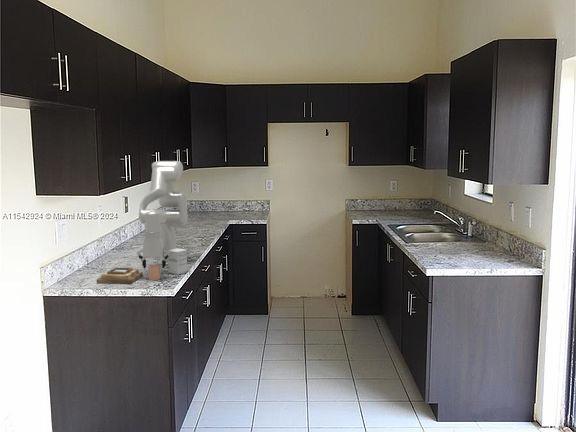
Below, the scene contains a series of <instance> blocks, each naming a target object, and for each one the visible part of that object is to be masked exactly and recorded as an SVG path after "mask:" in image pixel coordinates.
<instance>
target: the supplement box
mask: <svg viewBox="0 0 576 432" xmlns="http://www.w3.org/2000/svg"><path fill="white" fill-rule="evenodd" d="M168 251H170V252H171V253H170V255H169V257H168V262H169V265H168V273H169V274H176V275H181V274H185V273H187V272H188V253H187V252H188V250H187V249H185V248H184V249H182V248H177V247H176V249H172V250H168Z"/></svg>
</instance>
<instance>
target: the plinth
mask: <svg viewBox="0 0 576 432" xmlns="http://www.w3.org/2000/svg"><path fill="white" fill-rule="evenodd" d="M143 277H144V272H139V269H138V268H133V267H114V268H112V269H110V270H108V271H106V272H104V273H102V274H100V277H98V278H96V284H102V285H103V284H104V285H106V284H107V285H108V284H109V285H114V284H115V285H132V284H134V283H135V282H137V281H139V280H140V279H141V278H143Z"/></svg>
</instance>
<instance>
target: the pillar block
mask: <svg viewBox="0 0 576 432" xmlns="http://www.w3.org/2000/svg"><path fill="white" fill-rule="evenodd" d="M147 268H148V270H147V271H148V281H157V280H160V279H161V278H162V277H161V264H158V263H157V264H149V265H148V267H147Z"/></svg>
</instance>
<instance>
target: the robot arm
mask: <svg viewBox="0 0 576 432" xmlns="http://www.w3.org/2000/svg"><path fill="white" fill-rule="evenodd" d="M151 170H152V172H151V179H150V187H149V188H150V189H149V192H148V193H147V194H146V195H145V196H144V197H143V198H142V200H141V201H140V204H139V210H138V211H139V212H138V219H139V222H140V223H141V224H143V225H144V226H145V227H144V229H145V231H144V232H143V233H142V236H143V242H142V249H140V250H139V251H137V252H136V255H137V256H138V258H139V260H141V263H142V265H141V266H142V267H143V269H146V268H147V260H146V259H147V258H149V259H150V258H152V259H153V258H157V259H158V258H159V260H158V261H157V264H160V266H161V269H164V268H165V267H166V266H169V262H168V257H169V255H170V253H171V252H170V251H168V250H172V249H176V248H177V235H176V231H175V229H174V226H175V227H176V226H177V227H179V226H186V225H187V223H188V196H187V193H186V191H183V190H175V188H174V187H175V186H174V182H175V183H176V182H178V181H179V180H180V177H181V176H182V175H183V172H184V165H183V163H182V162H181V161H180V160H157V161H154V162H152V163H151ZM157 200H158V202H159V205H160V207H162V208H170V209H147V207H148V206H149V205H150V204H151V203H153V202H154V201H157ZM172 208H177V209H172Z"/></svg>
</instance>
